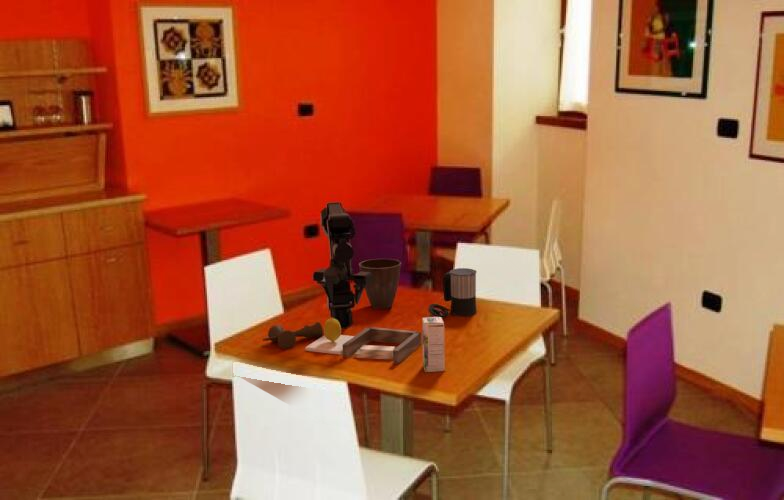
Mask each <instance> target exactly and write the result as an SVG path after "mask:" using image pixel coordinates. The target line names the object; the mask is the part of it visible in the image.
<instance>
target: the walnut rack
mask: <svg viewBox="0 0 784 500" xmlns="http://www.w3.org/2000/svg"><path fill="white" fill-rule="evenodd" d="M353 336H354V337H353V338H352V339H350V340H349V341H347V342H346V343H344V344H343V345H342V346H343V353H342V357H343V359H344V358H345V359H349V358H350V357H351V356H353V355H355V353H356V352H357V351H358V349H360V348H361V347H362V346H363V345H369V343H370V342H381V343H389V344H398V346H396V347H395V349H394V350H393V360H392V361H393V364H395V365H400V364H401V363H402V362H403V361H404V360H405V359H406V358H407V357H409V356H410V355H411V354H413V352H415V350H416V349H418V348H419V347H420V346H421V345H423V342H422V331H414V330H405V329H395V328H385V327H384V328H383V327H375V326H367V327H366V328H364V329H363V330H362V331H360V332H358V333H357V334H356V335H353Z"/></svg>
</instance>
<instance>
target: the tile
mask: <svg viewBox="0 0 784 500" xmlns="http://www.w3.org/2000/svg"><path fill="white" fill-rule="evenodd" d="M354 336H355V335H345V334H341V335H340V337H339V338H338V339H337V340H335V341H334V342H332V341H330V340H328V339H327V338H326V337H325V335H324V334H323V335H322V337H320V338H319V337H318V339H316V340H315V341H312V343H310V344H308V345H307V346H305V347H304V349H305V351H307V352H314V353H322V354H323V353H325V354H331V355H343V346H342V345H343V344H344V343H346V342H347V341H349V340H350V339H352V338H353V337H354Z"/></svg>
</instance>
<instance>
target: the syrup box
mask: <svg viewBox="0 0 784 500" xmlns="http://www.w3.org/2000/svg"><path fill="white" fill-rule="evenodd" d="M421 322H422V323H421V324H422V331H421V338H422V366H423V369H424V372H425V373H437V372H445V371H446V369H445V368H446V367H445V366H446V365H445V363H446V359H445V322H444V320H443V318H441V317H435V316H426V317H422V320H421Z"/></svg>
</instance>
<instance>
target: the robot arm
mask: <svg viewBox="0 0 784 500" xmlns="http://www.w3.org/2000/svg"><path fill="white" fill-rule="evenodd" d="M320 225H321V227H322V229H323V230H322V231H323V234H325V236H326V237H327V239H328V245H329V256H330V261H329V266H328V267H326V268H324V267H323V268H319V269H316V270H315V271H313V273H312V281H313V282H316V283H317V284H319V285H320V286H322V288H323V290H324V292H325V294H326V297H327V298H326V301H327V302H326V303H327V309H328V311H330V318H331V317H332V318H334V319H336V320H338V321H339V323H340V326H341V329H347V328H349V326H351V325H354V323H355V321H354V320H353V319H354V318H353V311H352V309H354V307H355V306H356V305H358V304H359V302H360V299H361V297H362V294H363V291H365V286H366V285H367V284H368V283H370V282H371V281H373V275H372V274H371V272H360V271H359V272H358V273H356V274H354V269H353V268H352V260H353V259H354V258H353V257H354V254H355V253H354V249H353V247H352V245H351V241H350V239H351V240H352V239H355V235H356V229H355V228H356V227H355V221H353V219H352V217H350V214H349V213H347V212H346V209H345V208H344V207H343V205H342V202H339V201H335V202H334V201H333V202H327V203H326V204H325V207H324V208H323V209H322V210H321V211H320ZM350 281H353V283H354V284H353V288H354V291H353V289H351V283H350Z"/></svg>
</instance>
